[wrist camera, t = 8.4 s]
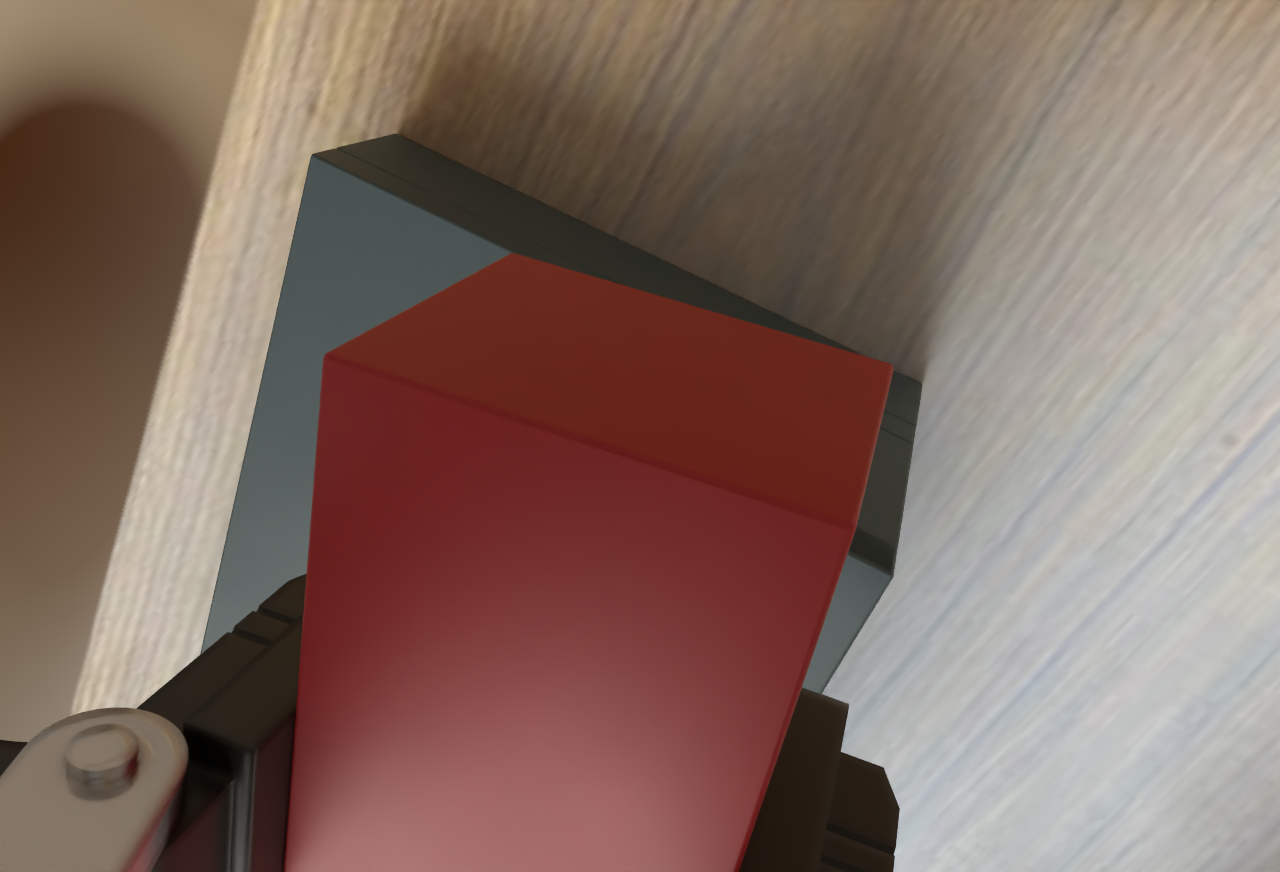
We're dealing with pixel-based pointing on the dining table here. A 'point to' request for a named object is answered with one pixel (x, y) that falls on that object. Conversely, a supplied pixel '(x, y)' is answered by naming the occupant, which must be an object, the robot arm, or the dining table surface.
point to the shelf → (421, 267)
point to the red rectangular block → (565, 577)
